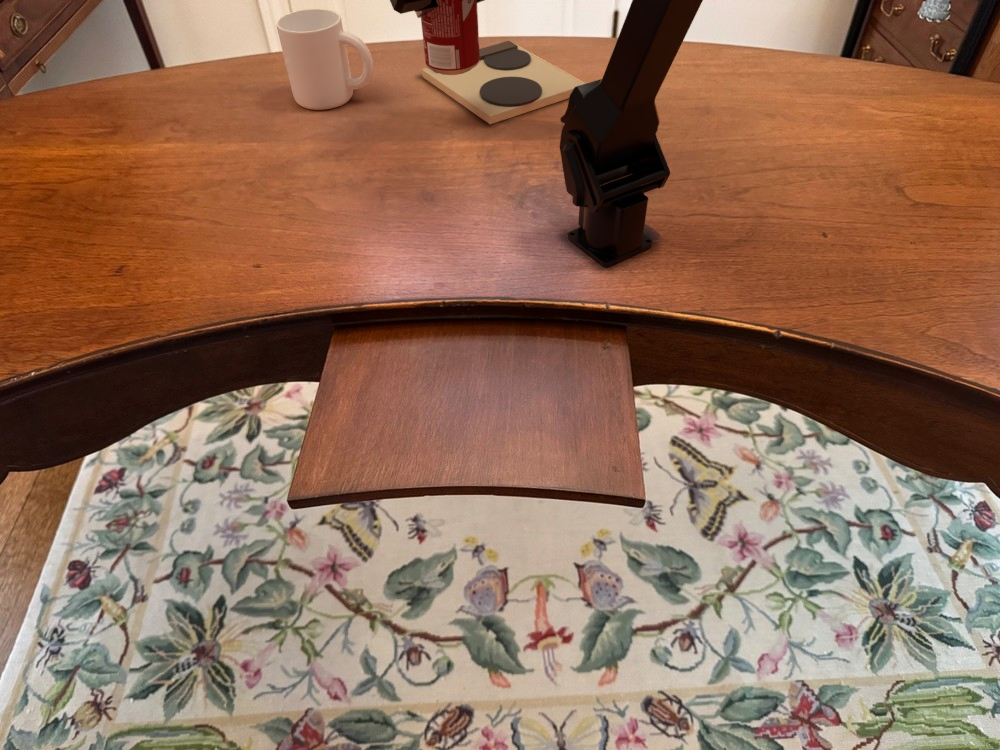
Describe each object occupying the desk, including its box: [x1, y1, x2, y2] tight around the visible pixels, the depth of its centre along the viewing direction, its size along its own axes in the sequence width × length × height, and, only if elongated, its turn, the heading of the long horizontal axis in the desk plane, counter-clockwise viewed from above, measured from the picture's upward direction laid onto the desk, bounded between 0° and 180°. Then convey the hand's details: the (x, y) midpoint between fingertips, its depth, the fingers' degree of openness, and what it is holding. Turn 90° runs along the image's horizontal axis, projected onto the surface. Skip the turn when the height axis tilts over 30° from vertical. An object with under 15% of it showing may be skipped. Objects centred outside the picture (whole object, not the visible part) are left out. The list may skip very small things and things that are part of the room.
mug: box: [275, 8, 374, 111], centre depth 95 cm, size 12×8×10 cm
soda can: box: [420, 0, 480, 75], centre depth 85 cm, size 7×7×12 cm
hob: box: [421, 40, 587, 125], centre depth 100 cm, size 18×16×2 cm
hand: (443, 7), depth 85 cm, fingers closed on soda can, 7 cm apart
